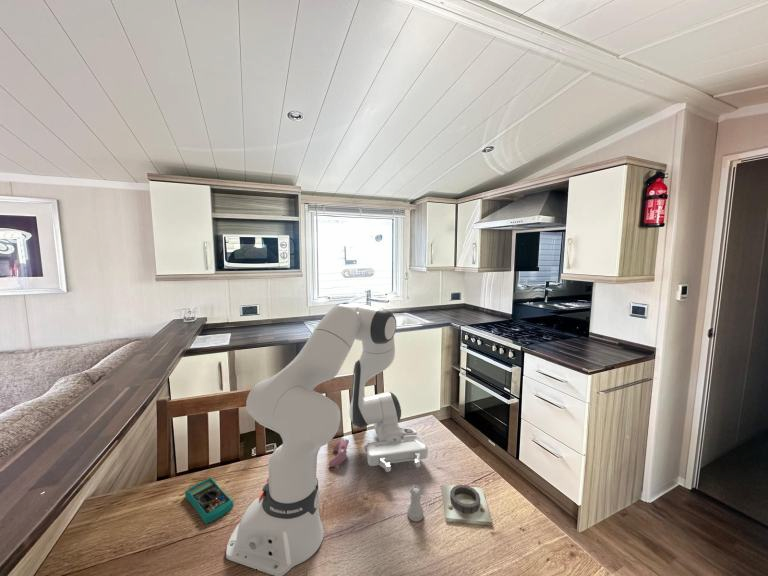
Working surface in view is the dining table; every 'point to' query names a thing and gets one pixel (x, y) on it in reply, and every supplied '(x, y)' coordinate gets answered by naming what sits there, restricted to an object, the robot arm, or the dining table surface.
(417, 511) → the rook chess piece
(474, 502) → the socket block
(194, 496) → the digital multimeter
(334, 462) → the pink irregular piece
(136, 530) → the dining table surface
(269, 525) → the robot arm
